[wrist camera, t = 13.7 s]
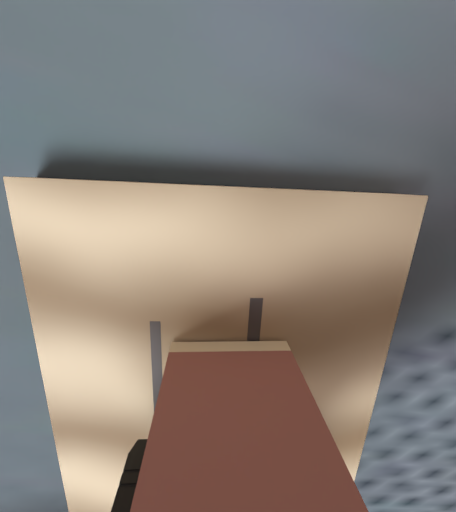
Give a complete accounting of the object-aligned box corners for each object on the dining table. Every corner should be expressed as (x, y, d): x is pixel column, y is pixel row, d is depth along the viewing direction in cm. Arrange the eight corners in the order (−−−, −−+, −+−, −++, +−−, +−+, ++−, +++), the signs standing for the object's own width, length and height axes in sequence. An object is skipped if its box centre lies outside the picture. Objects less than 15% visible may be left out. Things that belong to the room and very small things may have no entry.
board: (35, 177, 9) (2, 176, 8) (397, 193, 10) (428, 195, 9) (96, 555, 15) (84, 594, 14) (319, 540, 16) (329, 575, 15)
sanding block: (171, 341, 10) (113, 576, 4) (286, 340, 10) (389, 555, 4) (176, 488, 12) (143, 775, 6) (269, 483, 12) (322, 751, 6)
